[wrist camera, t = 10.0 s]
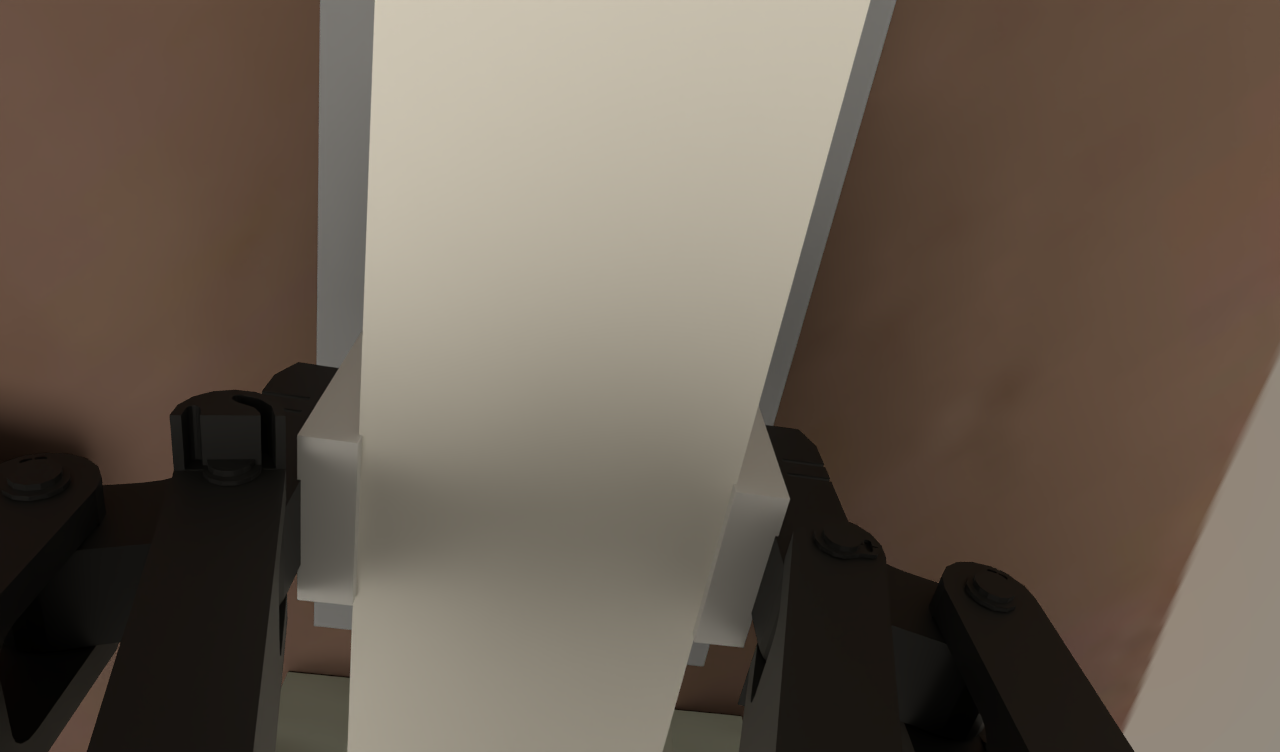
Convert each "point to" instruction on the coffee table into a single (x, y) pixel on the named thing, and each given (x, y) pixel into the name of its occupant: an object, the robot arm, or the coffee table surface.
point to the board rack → (320, 717)
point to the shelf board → (568, 347)
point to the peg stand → (347, 193)
